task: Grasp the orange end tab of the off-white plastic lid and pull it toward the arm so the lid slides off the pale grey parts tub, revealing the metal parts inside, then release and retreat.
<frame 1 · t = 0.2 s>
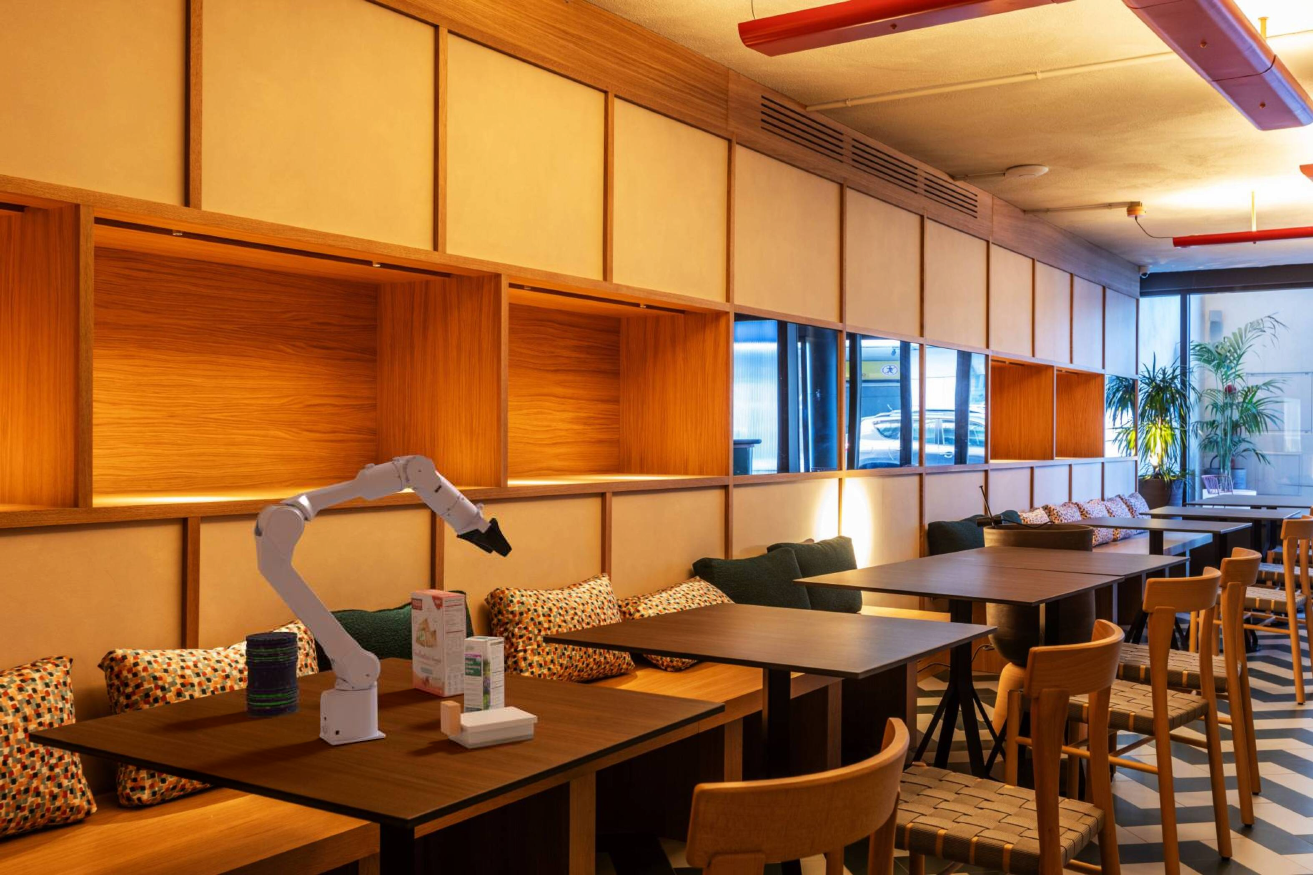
hand: (500, 551, 215), 31 cm above the table, tool tilted 45°, fingers open, 7 cm apart
tub: (491, 738, 198), on the table
syrup box: (484, 714, 218), on the table
lid: (485, 712, 198), point 5 cm above the table, slide at 0.0 cm
storage jar: (272, 712, 223), on the table
cracker box: (439, 692, 240), on the table
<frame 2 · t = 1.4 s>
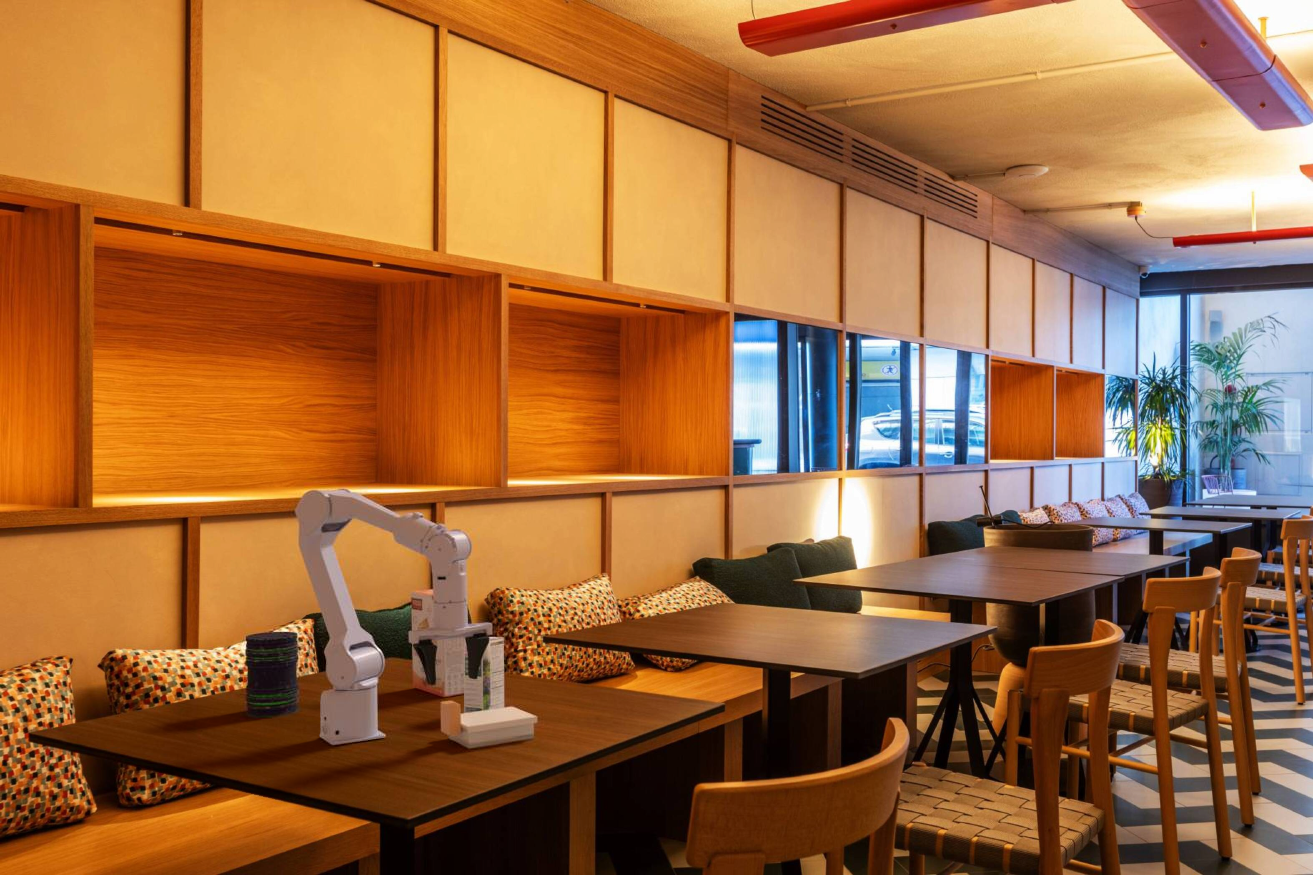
hand: (452, 681, 195), 11 cm above the table, tool pointing down, fingers open, 7 cm apart
nothing on the table moved.
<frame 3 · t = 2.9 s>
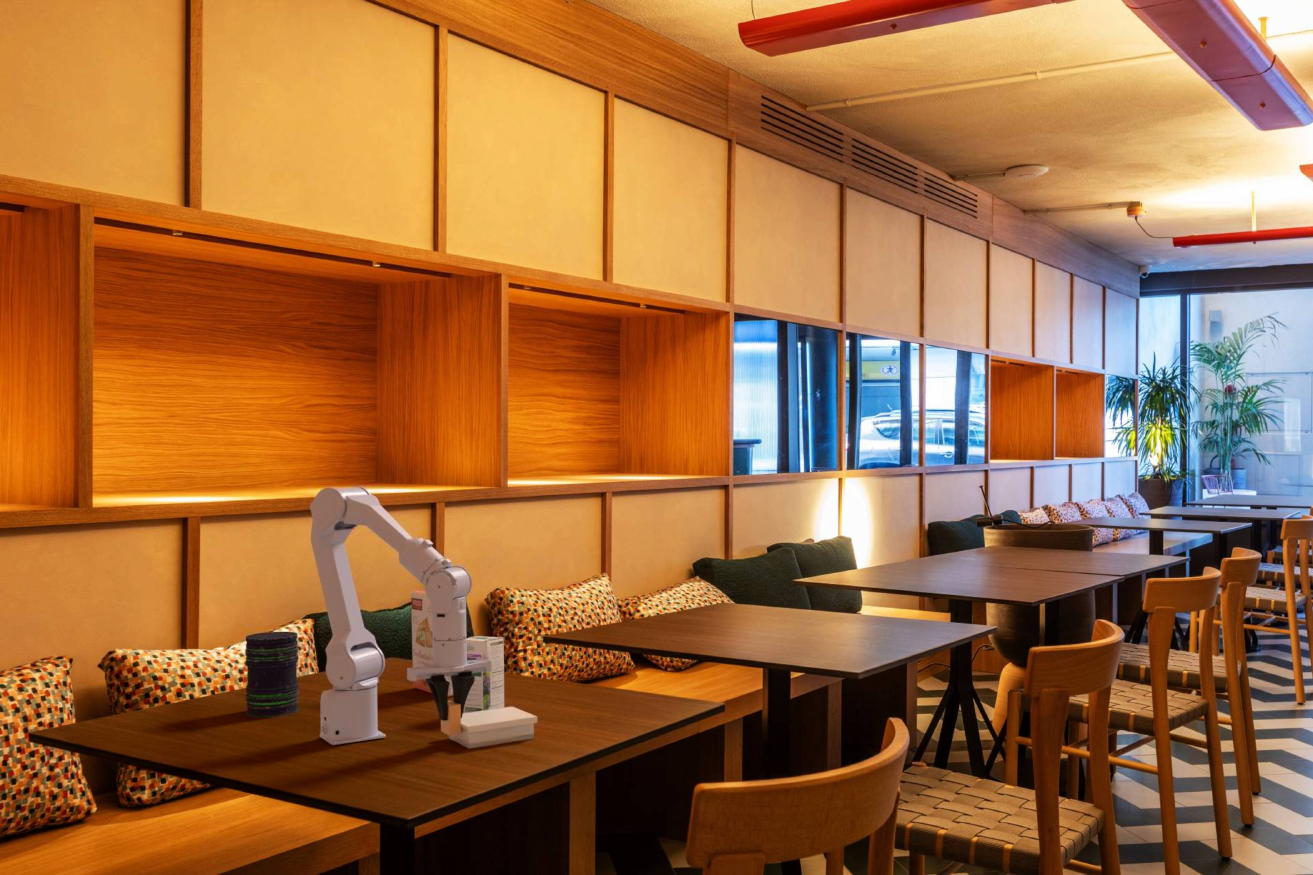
hand: (450, 718, 194), 4 cm above the table, tool pointing down, fingers closed on lid, 2 cm apart
lid: (485, 712, 198), point 5 cm above the table, slide at 0.0 cm, touching gripper
everything else where it was.
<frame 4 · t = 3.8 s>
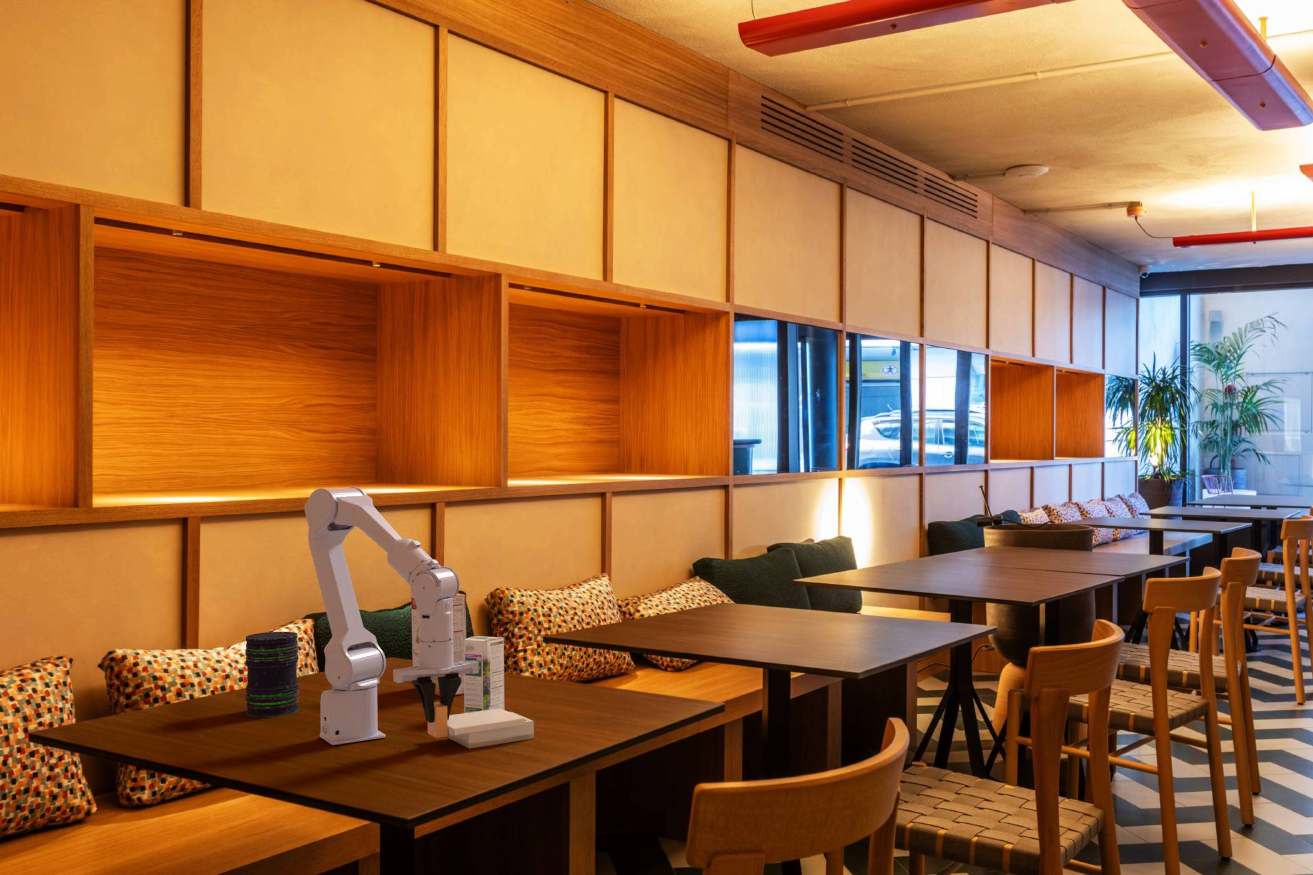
hand: (437, 720, 193), 4 cm above the table, tool pointing down, fingers closed on lid, 2 cm apart
lid: (472, 714, 196), point 4 cm above the table, slide at 2.4 cm, touching gripper
everything else where it was.
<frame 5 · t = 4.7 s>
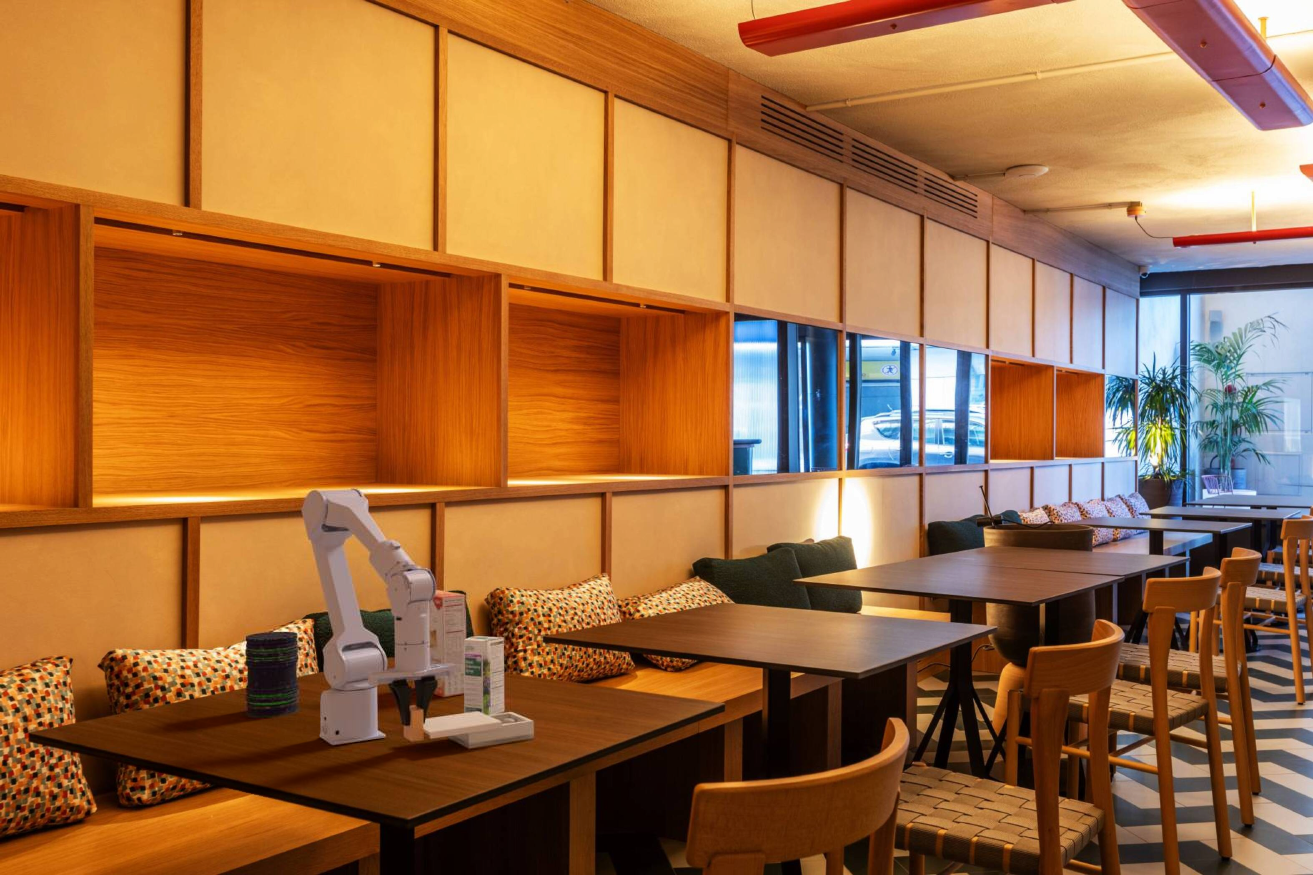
hand: (413, 723, 191), 4 cm above the table, tool pointing down, fingers closed on lid, 2 cm apart
lid: (449, 717, 194), point 5 cm above the table, slide at 6.6 cm, touching gripper
everything else where it was.
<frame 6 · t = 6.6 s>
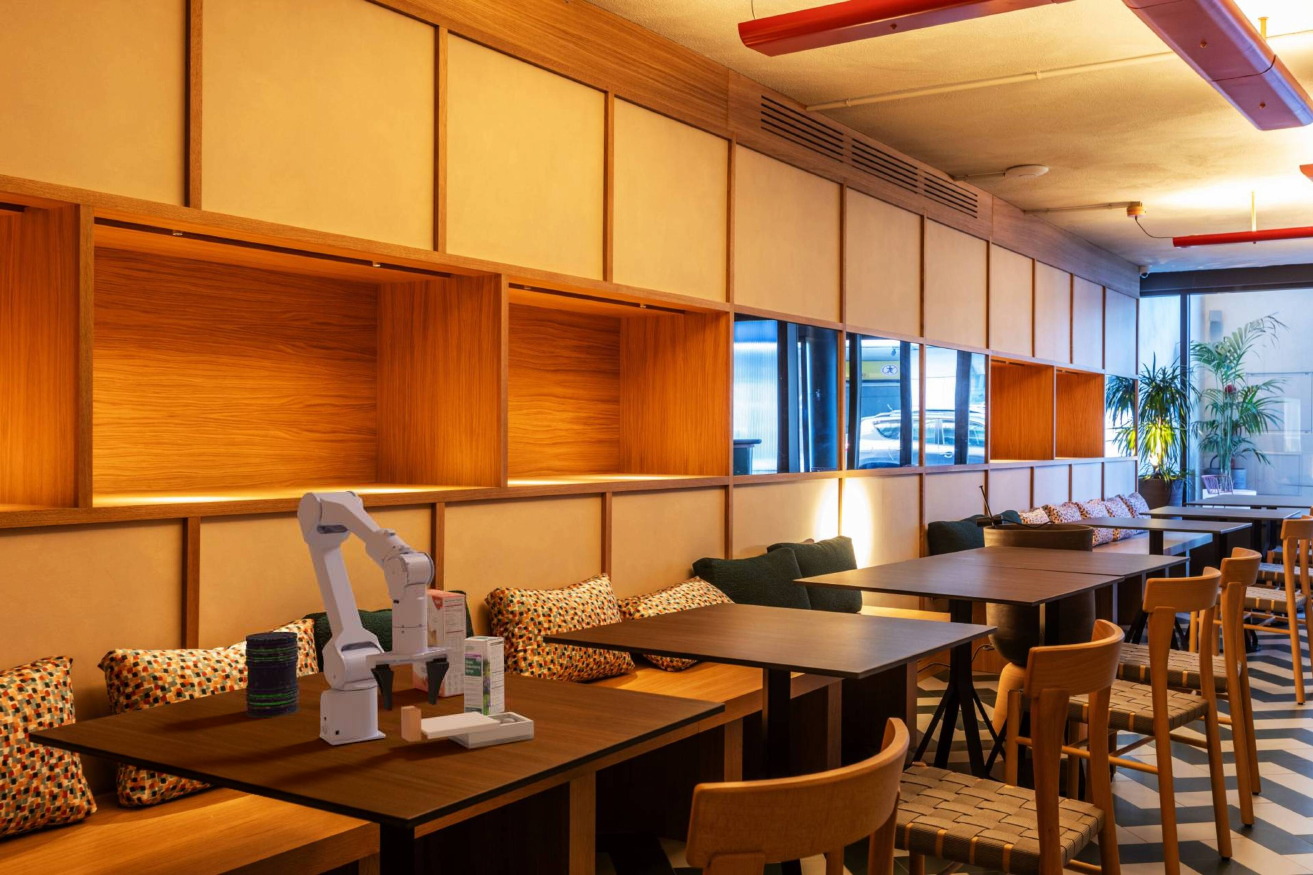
hand: (410, 706, 191), 7 cm above the table, tool pointing down, fingers open, 7 cm apart
lid: (447, 718, 194), point 5 cm above the table, slide at 7.0 cm
everything else where it was.
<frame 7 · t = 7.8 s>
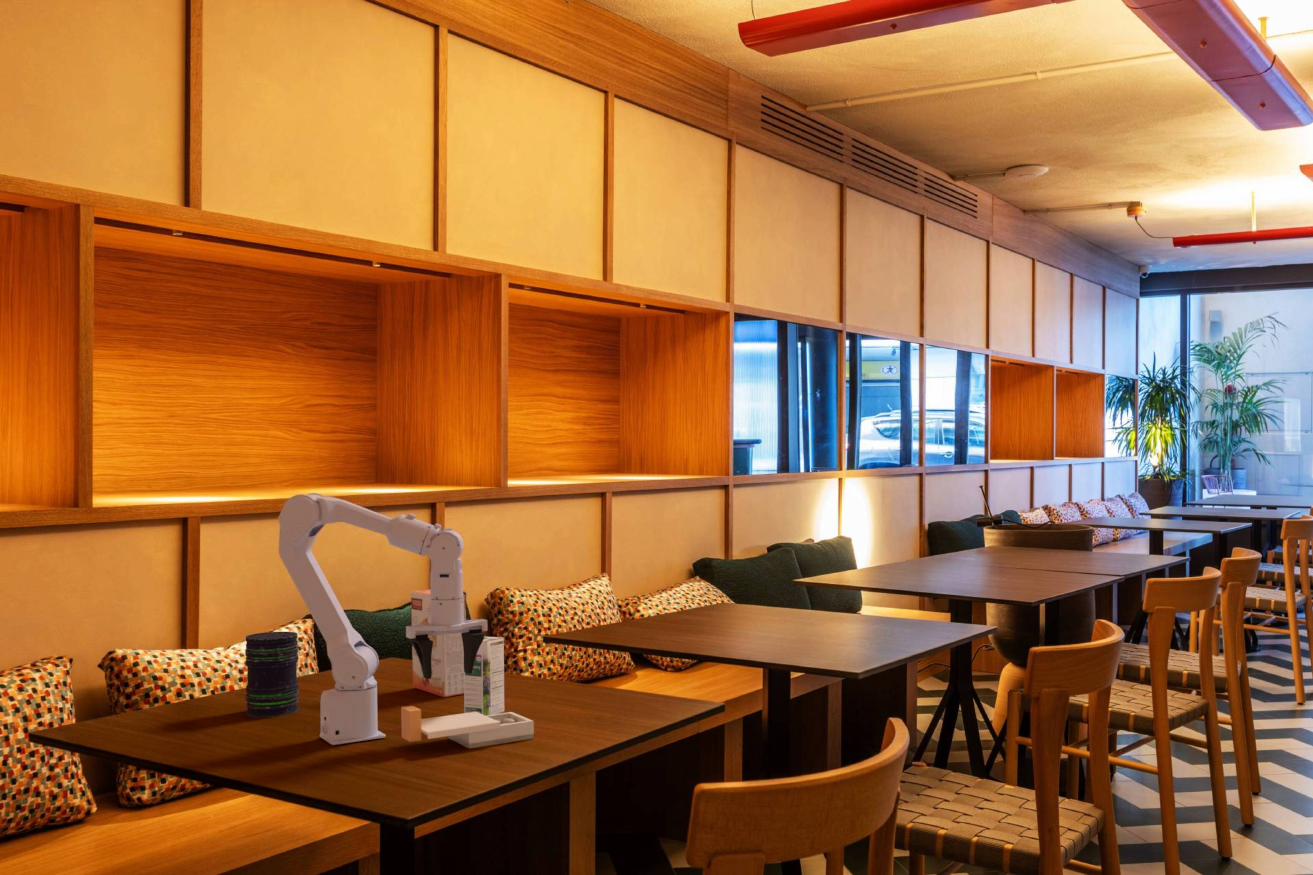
hand: (448, 675, 202), 10 cm above the table, tool pointing down, fingers open, 7 cm apart
nothing on the table moved.
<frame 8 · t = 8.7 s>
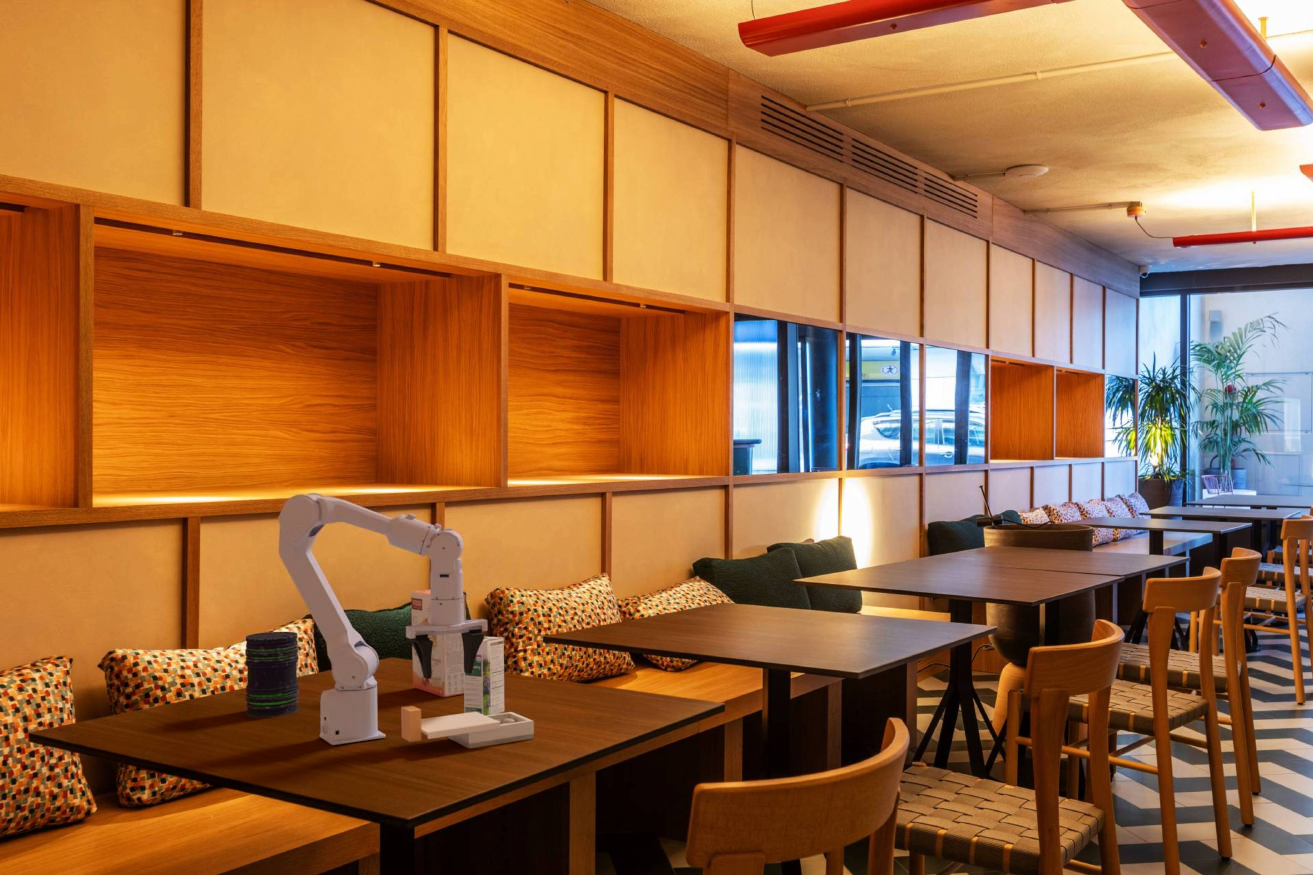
hand: (448, 675, 202), 10 cm above the table, tool pointing down, fingers open, 7 cm apart
nothing on the table moved.
at the end: lid slide at 7.0 cm; the gripper is holding nothing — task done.
